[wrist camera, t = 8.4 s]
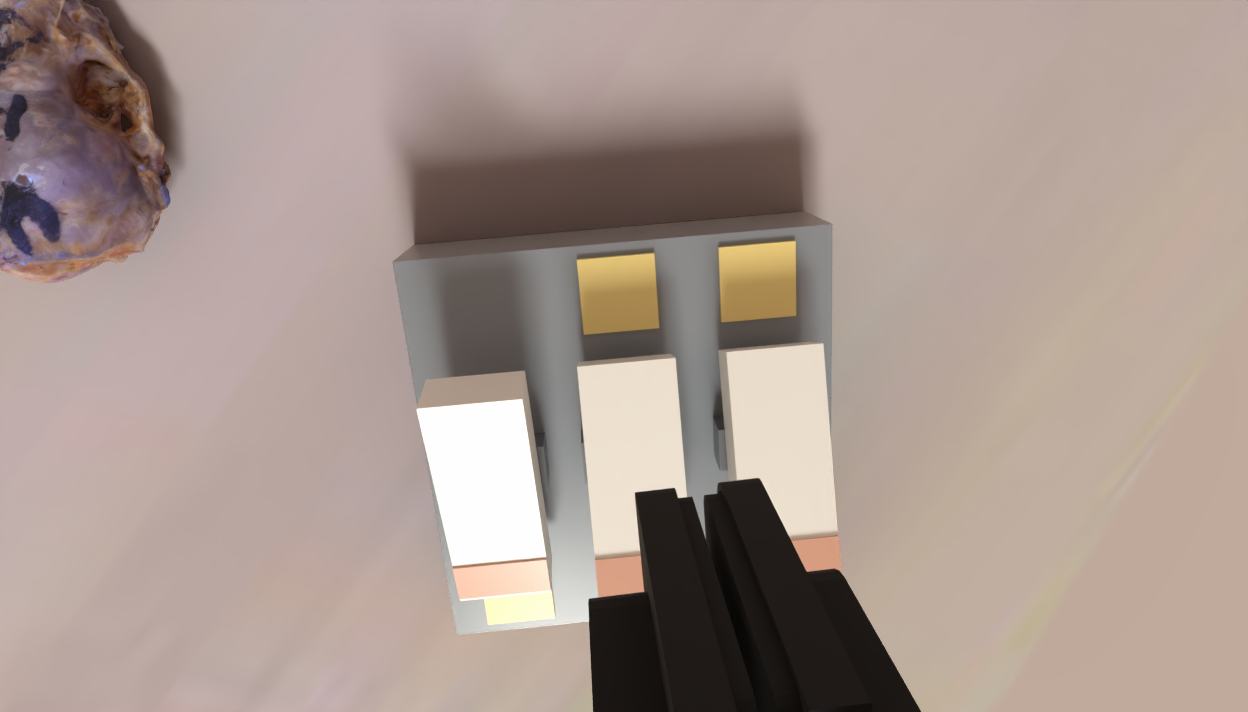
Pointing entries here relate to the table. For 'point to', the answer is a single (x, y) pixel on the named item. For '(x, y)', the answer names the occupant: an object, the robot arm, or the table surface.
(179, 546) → the table surface
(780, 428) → the block
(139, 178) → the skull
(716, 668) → the robot arm
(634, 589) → the rocker
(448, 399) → the rocker
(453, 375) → the switch unit
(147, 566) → the table surface
